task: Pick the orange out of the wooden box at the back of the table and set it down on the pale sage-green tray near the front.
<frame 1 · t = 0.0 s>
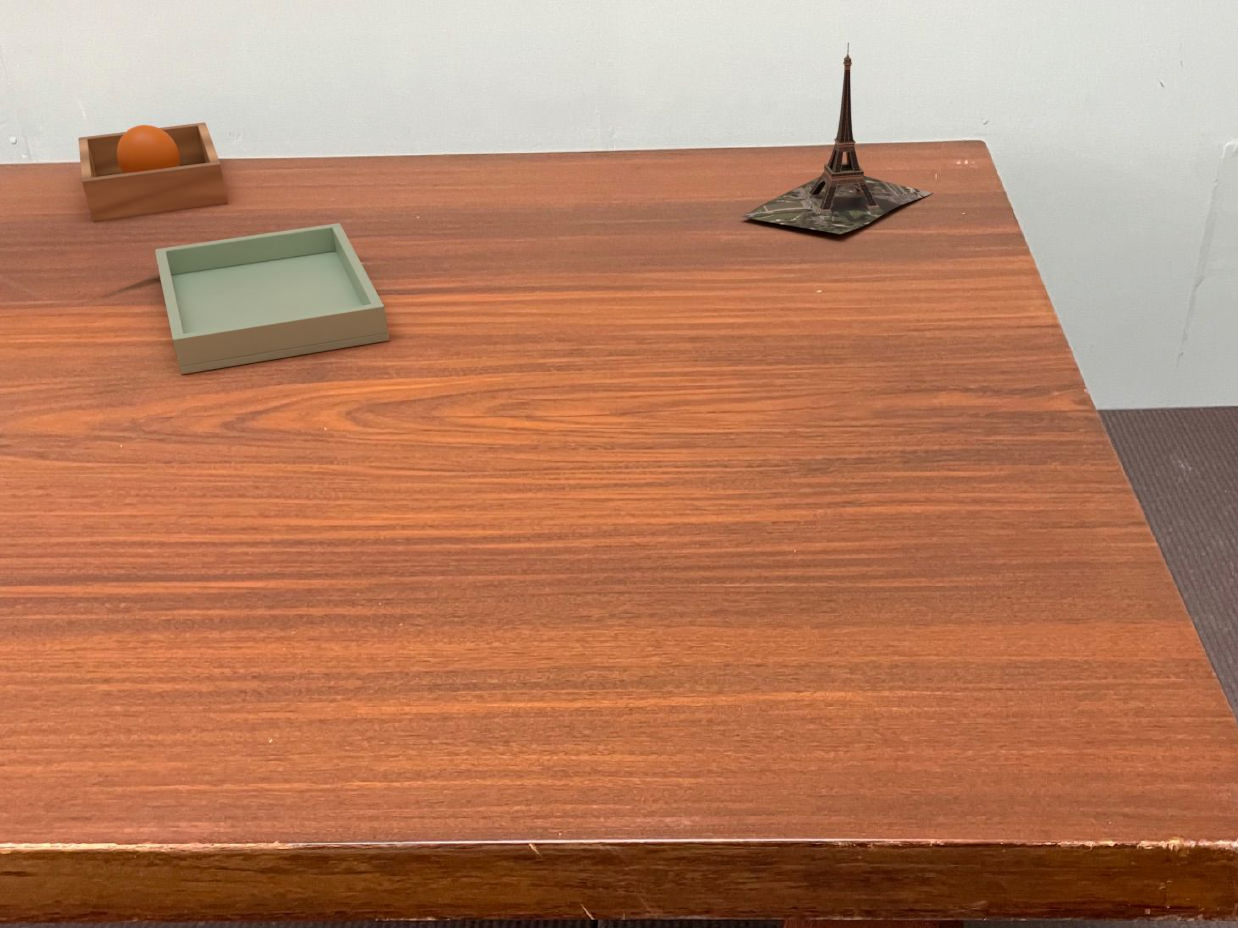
tray: (270, 309, 111), on the table
eiffel tower figurine: (838, 209, 126), on the table
orange: (156, 189, 134), point 1 cm above the table, touching wooden box
wooden box: (157, 195, 134), on the table
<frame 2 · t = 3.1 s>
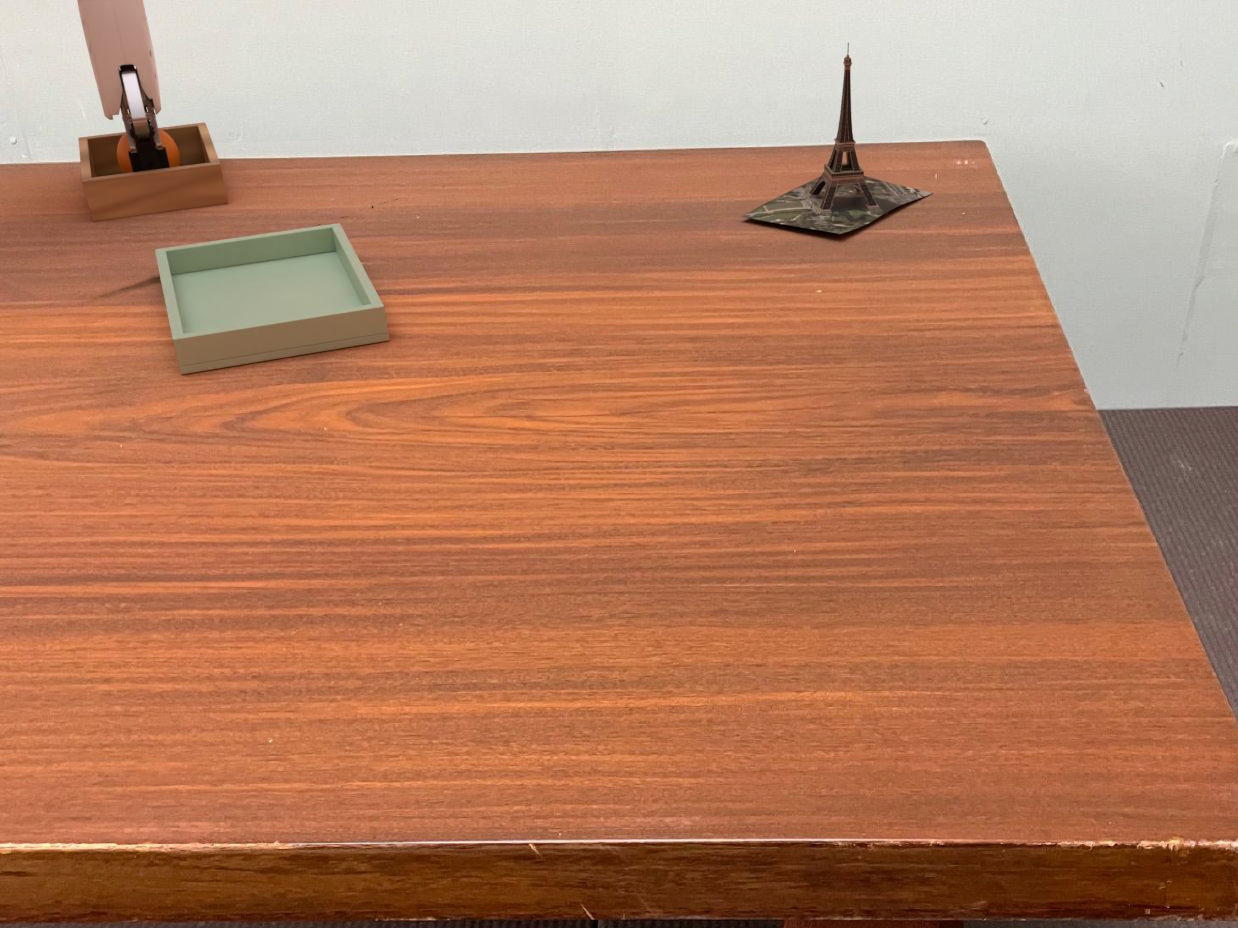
hand: (155, 183, 134), 1 cm above the table, tool pointing down, fingers closed on orange, 5 cm apart
orange: (156, 188, 134), point 1 cm above the table, touching wooden box, gripper
everything else where it was.
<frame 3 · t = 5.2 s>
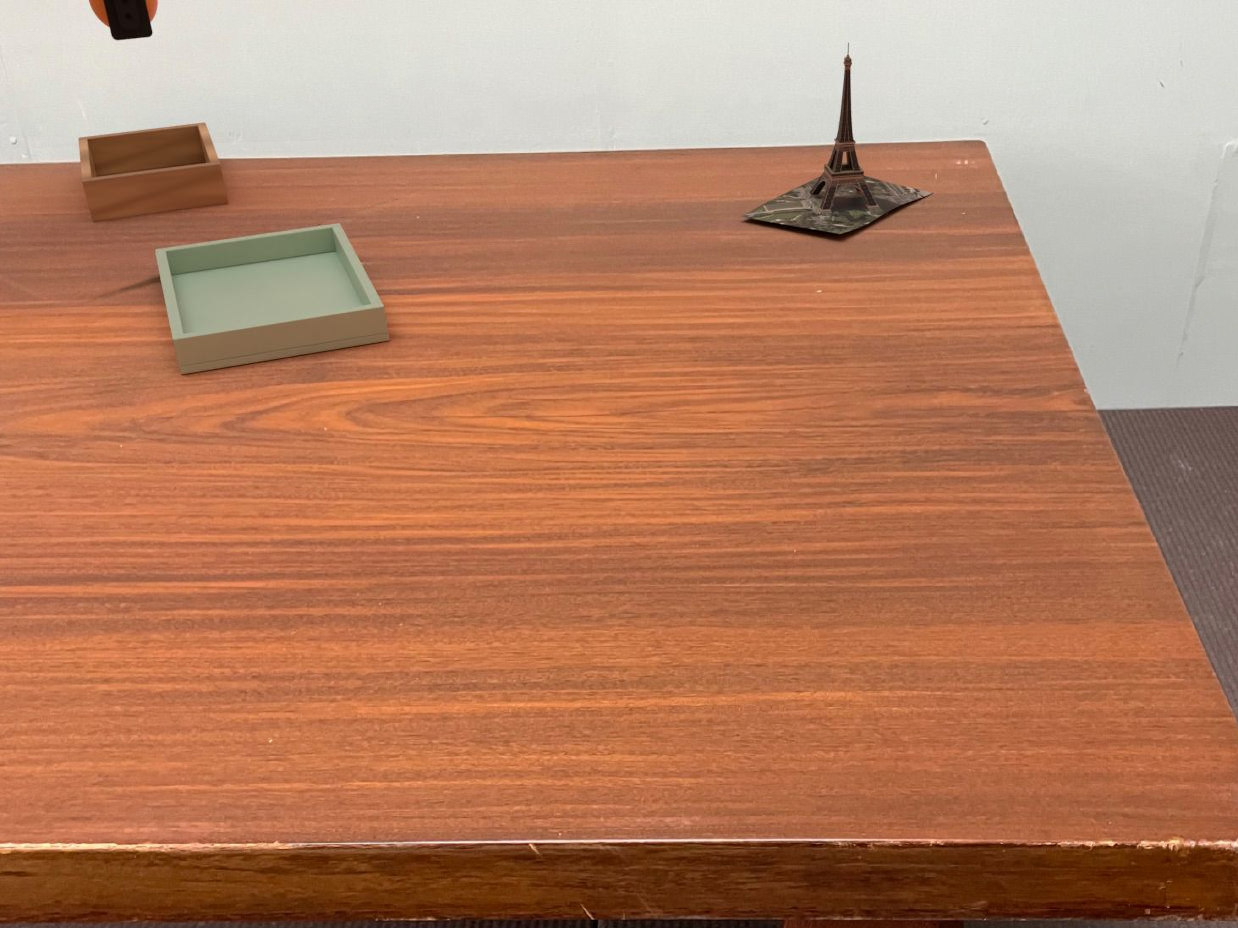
hand: (130, 28, 121), 15 cm above the table, tool pointing down, fingers closed on orange, 5 cm apart
orange: (131, 34, 122), point 15 cm above the table, touching gripper
everything else where it was.
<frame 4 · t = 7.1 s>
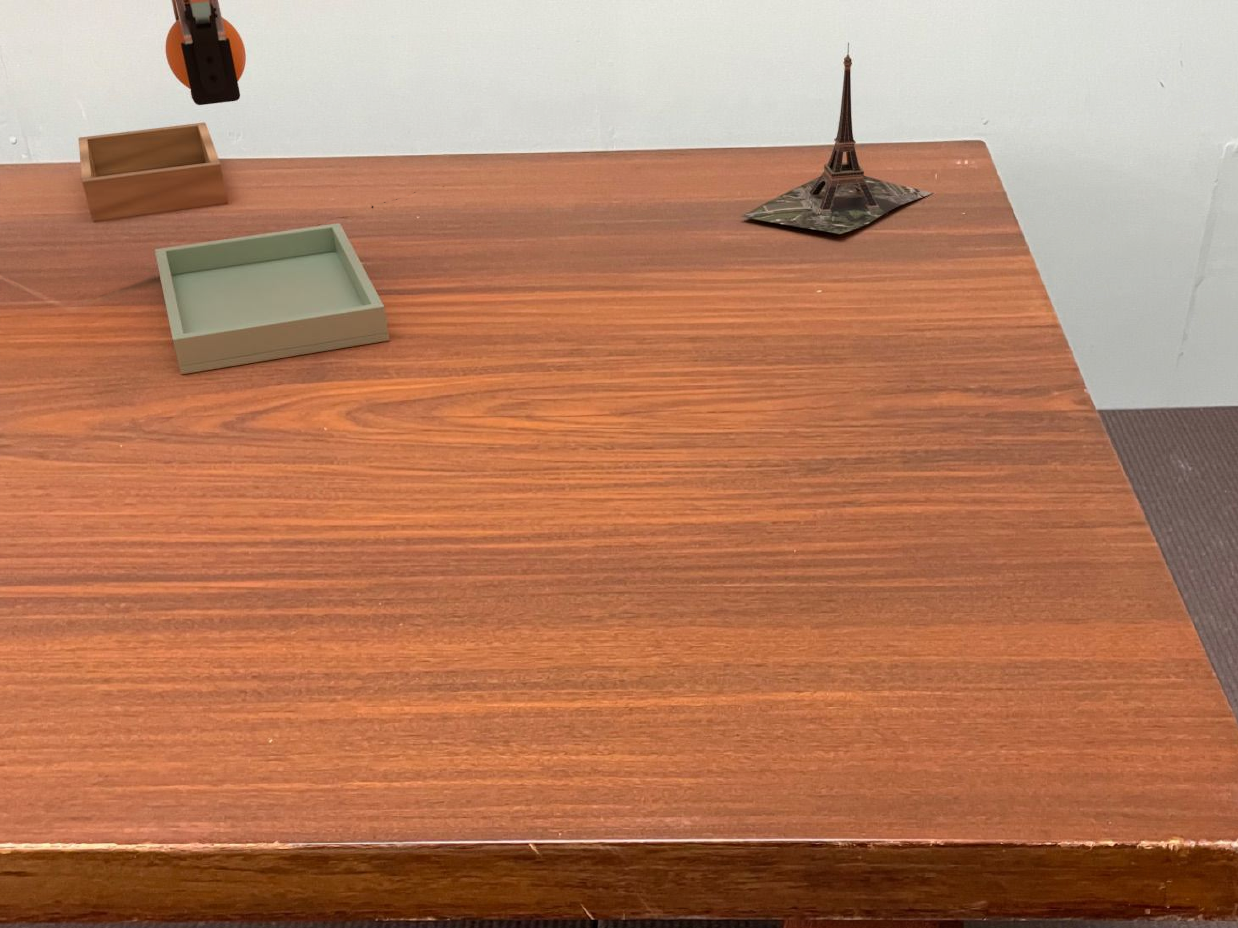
hand: (212, 89, 104), 15 cm above the table, tool pointing down, fingers closed on orange, 5 cm apart
orange: (214, 96, 105), point 15 cm above the table, touching gripper
everything else where it was.
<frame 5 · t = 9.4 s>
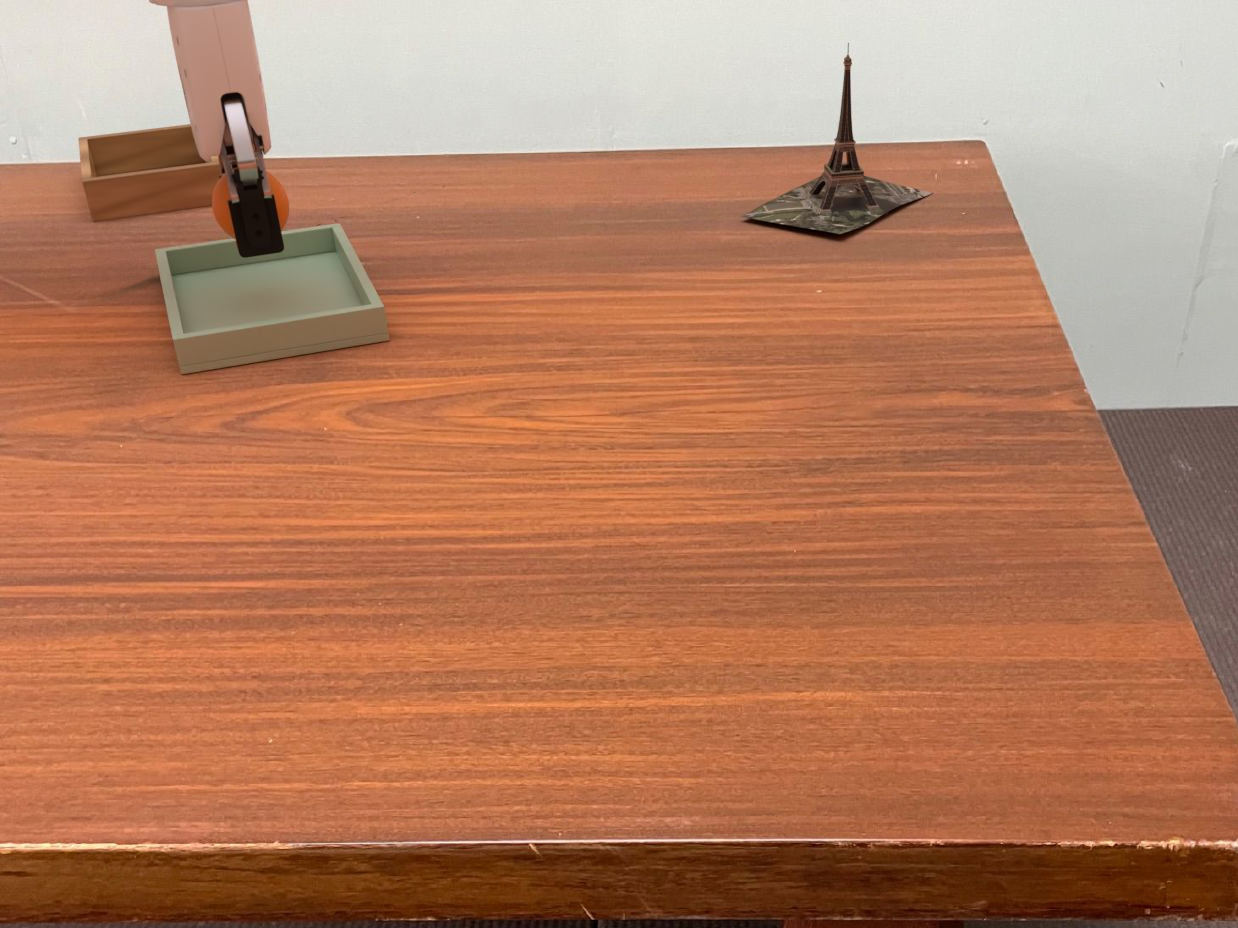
hand: (256, 238, 107), 5 cm above the table, tool pointing down, fingers closed on orange, 5 cm apart
orange: (258, 244, 108), point 5 cm above the table, touching gripper
everything else where it was.
when the fingers open (1 cm above the table, at t = 11.0 s): orange stays where it is, resting on tray.
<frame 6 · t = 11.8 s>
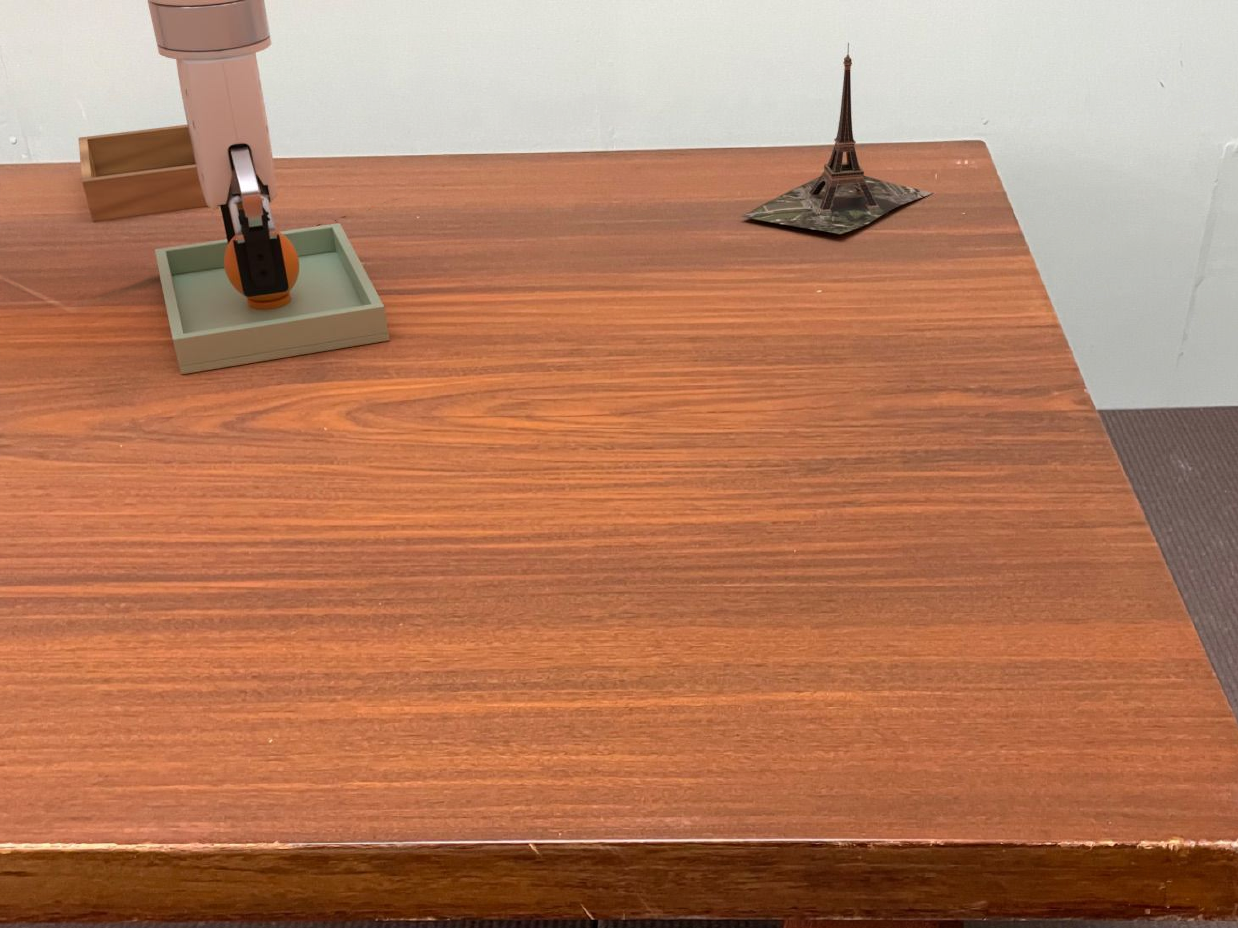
hand: (258, 270, 109), 3 cm above the table, tool pointing down, fingers open, 9 cm apart
orange: (269, 301, 110), point 1 cm above the table, touching tray
everything else where it was.
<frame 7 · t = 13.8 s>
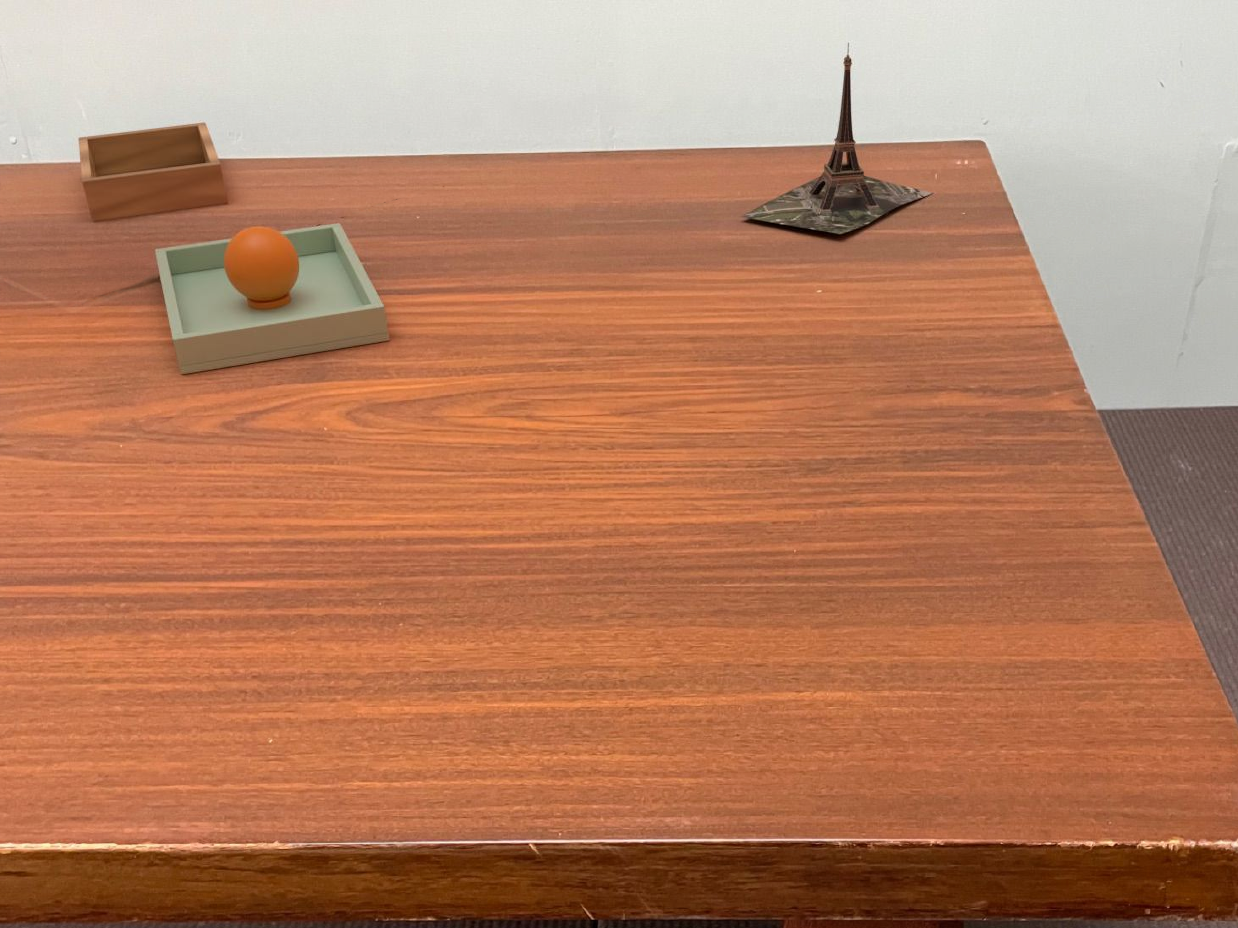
nothing on the table moved.
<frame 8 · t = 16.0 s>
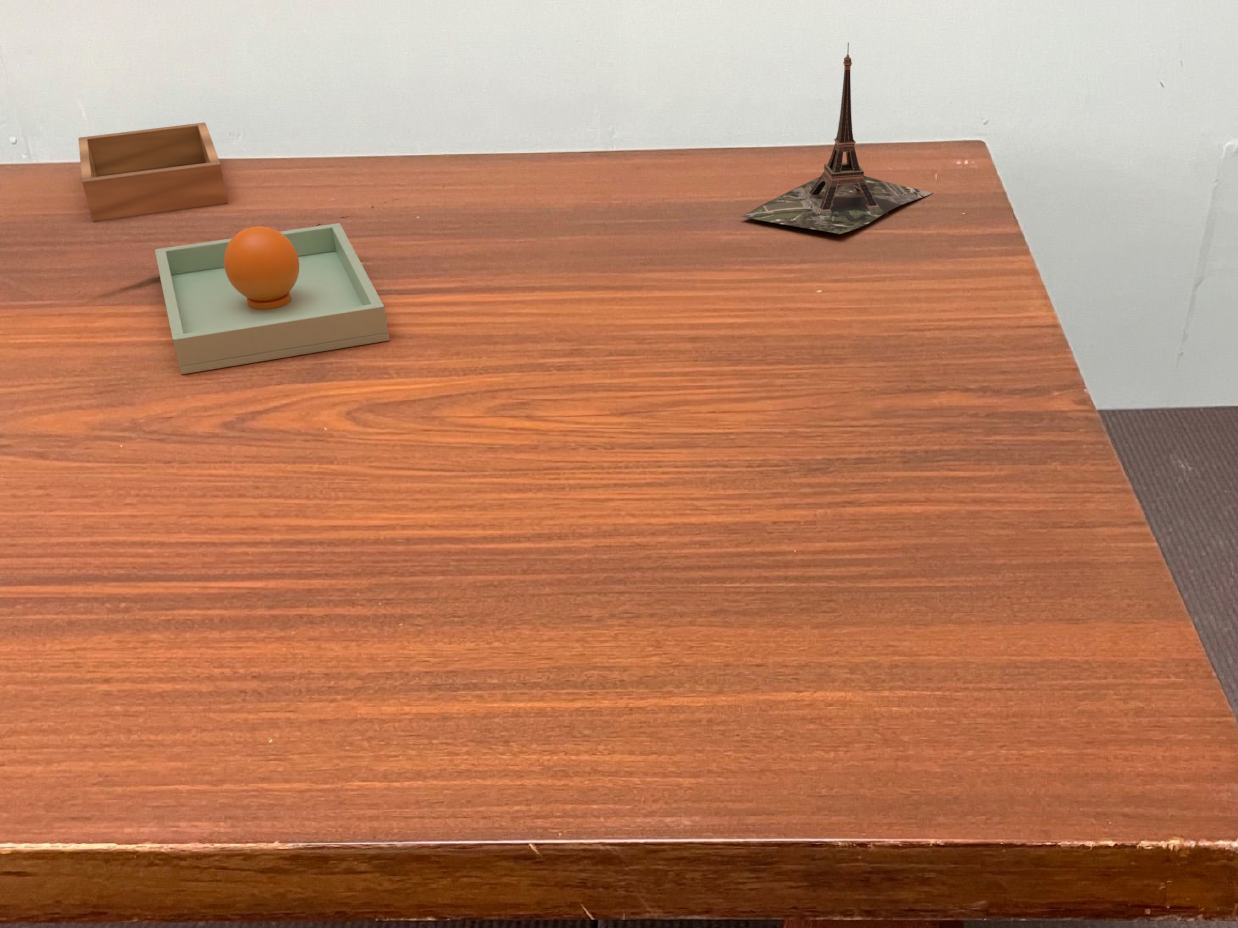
nothing on the table moved.
at the end: orange inside the target area in the tray (0.1 cm from its centre), point 0.6 cm above the tray's base; orange moved 33.5 cm from its start; the gripper is holding nothing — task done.
